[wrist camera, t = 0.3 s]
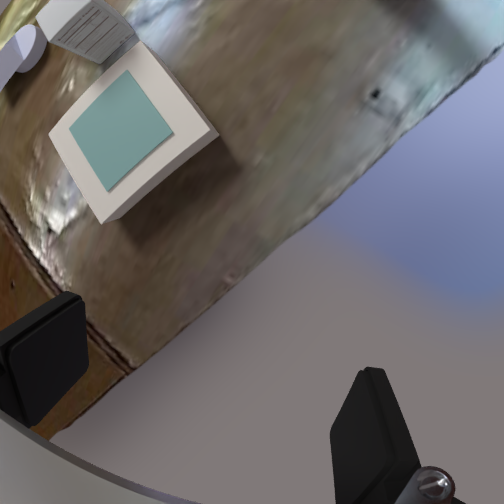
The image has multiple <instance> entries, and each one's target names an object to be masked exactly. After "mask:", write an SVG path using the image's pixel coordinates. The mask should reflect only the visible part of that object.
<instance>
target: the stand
mask: <svg viewBox="0 0 504 504" xmlns="http://www.w3.org/2000/svg"><path fill="white" fill-rule="evenodd" d="M49 136H50V138H51V140H52V142H53V144H54V146H55V148H56V149H57V151H58V153H59V155H60V157H61V159H62V160H63V162H64V164H65V166H66V167H67V169H68V171H69V173H70V174H71V176H72V178H73V179H74V181H75V183H76V185H77V186H78V188H79V190H80V191H81V193H82V195H83V196H84V198H85V199H86V201H87V203H88V204H89V206H90V207H91V209H92V211H93V212H94V214H95V215H96V217H97V218H98V220H99V222H100V223H101V224H103V223H106V222H110V221H113V220H116V219H119V218H121V217H122V216H123V215H124V214H125V213H126V212H127V211H129V210H130V209H131V208H132V207H133V206H134V205H135V204H136V203H137V202H139V201H140V200H141V199H142V198H143V197H144V196H145V195H146V194H148V193H149V192H150V191H151V190H152V189H153V188H155V187H156V186H157V185H158V184H159V183H160V182H162V181H163V180H164V179H165V178H166V177H168V176H169V175H170V174H171V173H172V172H174V171H175V170H176V169H177V168H178V167H180V166H181V165H182V164H183V163H185V162H186V161H187V160H188V159H190V158H191V157H192V156H193V155H195V154H196V153H197V152H199V151H200V150H201V149H202V148H204V147H205V146H206V145H208V144H209V143H210V142H212V141H213V140H214V139H216V138H217V137H218V136H220V135H219V133H218V132H217V131H216V129H215V128H214V127H213V125H212V124H211V123H210V121H209V120H208V119H207V117H206V116H205V115H204V114H203V112H202V111H201V110H200V108H199V107H198V106H197V104H196V103H195V102H194V101H193V99H192V98H191V97H190V95H189V94H188V93H187V91H186V90H185V89H184V88H183V86H182V85H181V84H180V83H179V81H178V80H177V79H176V78H175V76H174V75H173V74H172V72H171V71H170V70H169V69H168V67H167V66H166V65H165V64H164V62H163V61H162V60H161V59H160V58H159V56H158V55H157V54H156V53H155V52H154V51H153V50H152V49H150V48H149V47H148V46H147V45H146V44H144V43H143V42H142V41H141V40H140V41H139V42H138V43H137V44H135V45H134V46H133V47H132V48H131V49H130V50H128V51H127V52H126V53H125V54H124V55H123V56H122V57H121V58H119V59H118V60H117V61H116V62H115V63H114V64H113V65H112V66H111V67H110V68H109V69H108V70H106V71H105V72H104V73H103V74H102V75H101V76H100V77H99V78H98V79H97V80H96V81H95V82H94V83H93V84H92V85H91V86H90V87H89V88H88V89H87V90H86V92H85V93H84V94H83V95H82V96H81V97H80V98H79V99H78V100H77V101H76V102H75V103H74V104H73V106H72V107H71V108H70V109H69V110H68V111H67V112H66V114H65V115H64V116H63V117H62V118H61V119H60V121H59V122H58V123H57V124H56V125H55V127H54V128H53V129H52V130H51V132H50V133H49Z"/></svg>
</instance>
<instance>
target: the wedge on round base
mask: <svg viewBox="0 0 504 504" xmlns="http://www.w3.org/2000/svg"><path fill="white" fill-rule="evenodd" d="M46 44H47V38H46V36H45V34H44V32H43V31H42V29H41V28H38V27H36V26H34V25H31V24H29V25H26V26H24V27H22V28H21V29H20V30H18V31H17V33H16V34H15V35H14V36H13V37H12V38H11V39H10V40H9V41H8V42H7V43H6V44H5V46H4V47H3V48H2V50H1V51H0V92H1V90H2V89H3V87H4V86H5V85H6V83H7V82H8V80H9V79H10V78H11V76H12V75H13V74H14V72H15V71H16V72H20V73H24V72H27V71H29V70H30V69H31V68H33V67H34V66H35V65H36V63H37V62H38V61H39V59H40V58H41V56H42V54H43V52H44V50H45V47H46Z"/></svg>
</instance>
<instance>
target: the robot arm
mask: <svg viewBox="0 0 504 504" xmlns="http://www.w3.org/2000/svg"><path fill="white" fill-rule="evenodd" d="M88 366H89V358H88V347H87V333H86V314H85V303H84V301H82V298H81V296H80V295H77V294H74V293H72V292H69V291H65V292H63V293H61V294H59V295H58V296H56V297H54V298H53V299H51V300H50V301H48V302H46V303H45V304H43V305H41V306H40V307H38V308H36V309H35V310H33V311H32V312H30V313H28V314H27V315H25V316H24V317H22V318H21V319H19V320H17V321H16V322H14V323H13V324H11V325H10V326H8V327H6V328H5V329H3V330H2V331H0V504H201V503H197V502H193V501H189V500H186V499H182V498H179V497H176V496H172V495H169V494H166V493H163V492H160V491H157V490H154V489H151V488H148V487H145V486H143V485H140V484H137V483H134V482H132V481H129V480H127V479H124V478H122V477H120V476H117V475H115V474H112V473H110V472H108V471H106V470H103V469H101V468H99V467H97V466H95V465H93V464H91V463H89V462H86V461H85V460H82V459H80V458H79V457H76V456H75V455H73V454H71V453H69V452H67V451H65V450H63V449H62V448H60V447H58V446H56V445H54V444H53V443H51V442H49V441H48V440H46V439H44V438H43V437H41V436H39V435H38V434H36V433H34V432H33V431H31V430H30V427H31V426H36V425H37V424H38V423H39V422H40V421H41V420H42V419H43V418H44V416H45V415H46V414H47V413H48V412H49V411H50V410H51V409H52V408H53V407H54V406H55V404H56V403H57V402H58V401H59V400H60V399H61V398H62V397H63V396H64V395H65V394H66V393H67V391H68V390H69V389H70V388H71V387H72V386H73V385H74V384H75V383H76V382H77V381H78V380H79V379H80V378H81V377H82V376H83V374H84V373H85V372H86V371H87V369H88ZM330 443H331V453H332V464H333V474H334V487H335V500H336V504H466V503H464V502H462V501H460V500H458V499H457V498H455V497H454V494H455V483H454V481H453V479H452V477H451V476H450V475H449V474H448V473H447V472H446V471H444V470H443V469H441V468H438V467H434V466H426V467H421V464H420V461H419V458H418V455H417V452H416V449H415V447H414V444H413V441H412V439H411V436H410V433H409V430H408V428H407V425H406V423H405V420H404V418H403V415H402V412H401V410H400V407H399V405H398V402H397V400H396V397H395V395H394V392H393V390H392V387H391V385H390V383H389V380H388V378H387V376H386V373H385V371H384V369H381V368H373V367H366V368H365V369H364V371H362V370H360V371H359V372H358V374H357V376H356V378H355V380H354V382H353V385H352V387H351V389H350V391H349V393H348V395H347V398H346V399H345V401H344V403H343V406H342V408H341V410H340V412H339V414H338V415H337V417H336V419H335V421H334V423H333V425H332V427H331V431H330Z"/></svg>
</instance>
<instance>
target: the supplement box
mask: <svg viewBox="0 0 504 504" xmlns="http://www.w3.org/2000/svg"><path fill="white" fill-rule="evenodd" d="M35 18H36V20H37V21H38V23H39V25H40V27H41V29H42V31H43V32H44V34H45V36H46V38H47V39H48V41H49V42H50V43H53V44H55V45H58V46H60V47H62V48H64V49H67V50H69V51H71V52H73V53H76V54H78V55H80V56H82V57H84V58H87V59H89V60H91V61H93V62H95V63H97V64H101V63H102V62H103V61H104V60H106V59H107V58H108V57H109V56H110V55H111V54H112V53H113V52H114V51H115V50H116V49H118V48H119V47H120V46H121V45H122V44H123V43H124V42H125V41H127V40H128V39H129V38H130V37H131V36H132V35H134V34H135V32H134V30H133V29H132V28H131V26H130V25H129V24H128V23H127V22H126V20H125V19H124V18H123V17H122V16H121V15H120V14H119V12H118V11H117V10H115V9H114V8H113V7H112V6H110V5H109V4H108V3H106V2H105V1H104V0H50V1H49V2H48V4H47V5H46V6H45V7H44V8H43V9H42V10H41V11H40V12H39V13H38V14H37V16H36V17H35Z"/></svg>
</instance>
